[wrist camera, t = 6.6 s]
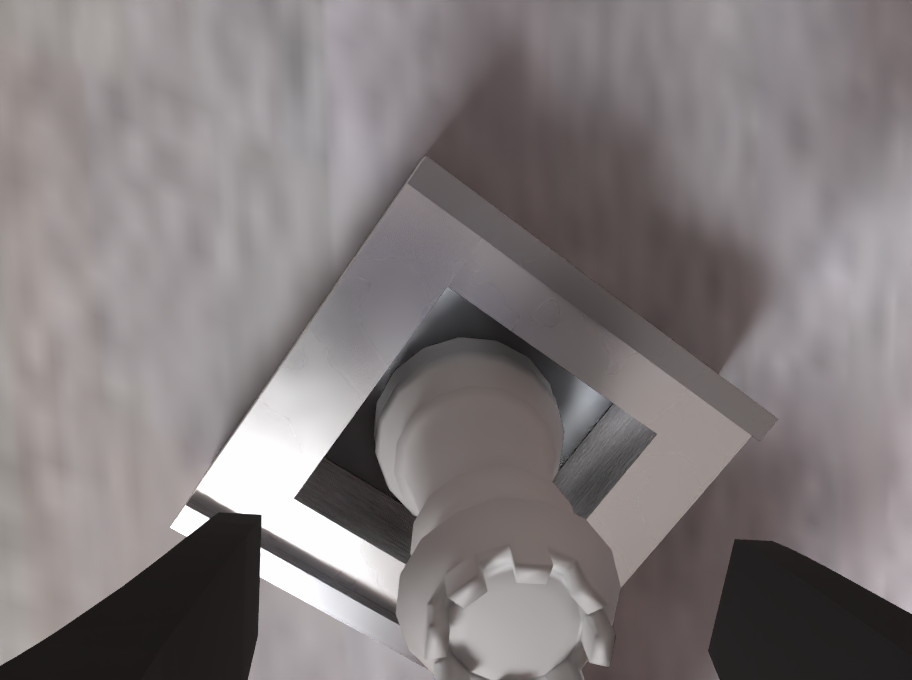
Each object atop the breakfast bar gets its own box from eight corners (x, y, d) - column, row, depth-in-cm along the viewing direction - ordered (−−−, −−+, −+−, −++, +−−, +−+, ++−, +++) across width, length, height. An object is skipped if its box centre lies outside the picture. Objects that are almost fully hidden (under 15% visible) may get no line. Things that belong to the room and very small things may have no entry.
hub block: (209, 466, 16) (170, 527, 13) (423, 157, 15) (426, 155, 12) (501, 635, 18) (518, 719, 15) (717, 377, 16) (778, 419, 14)
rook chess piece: (403, 308, 15) (405, 452, 8) (579, 360, 16) (740, 539, 8) (352, 477, 16) (308, 752, 9) (519, 519, 17) (616, 808, 9)
